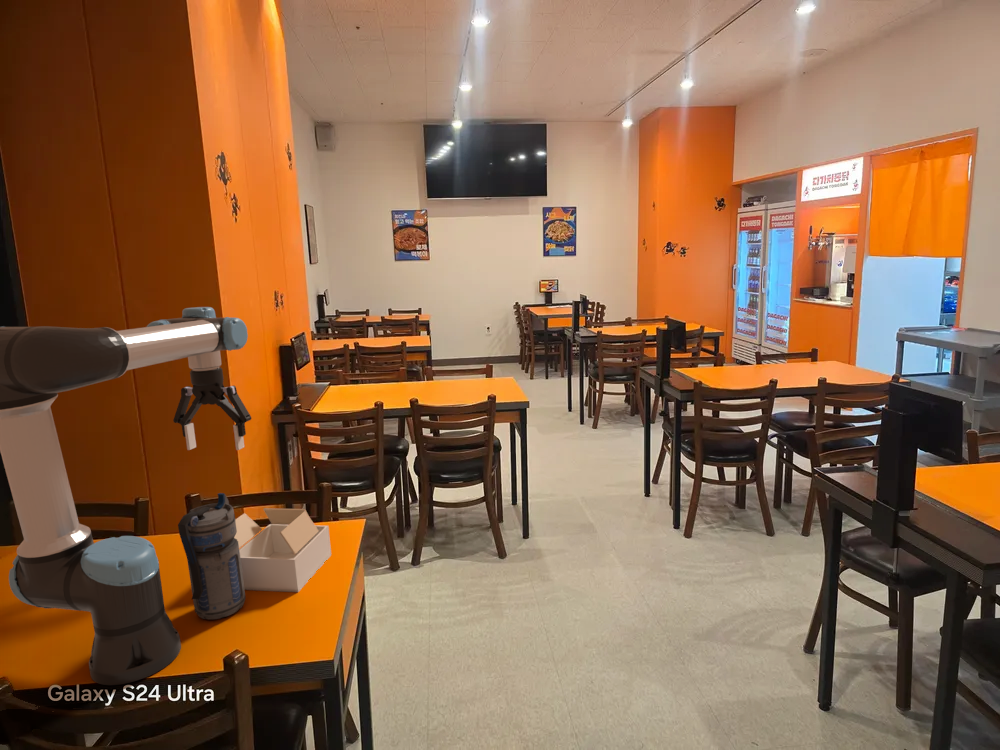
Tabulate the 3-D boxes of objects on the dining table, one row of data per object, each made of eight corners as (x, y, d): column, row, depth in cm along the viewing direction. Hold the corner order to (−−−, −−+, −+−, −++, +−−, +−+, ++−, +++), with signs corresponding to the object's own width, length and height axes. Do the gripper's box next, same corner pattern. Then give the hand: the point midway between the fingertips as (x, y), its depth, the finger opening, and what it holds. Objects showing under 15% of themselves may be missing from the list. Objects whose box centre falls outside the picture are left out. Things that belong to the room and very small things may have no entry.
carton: (298, 592, 141) (292, 539, 138) (217, 588, 144) (210, 536, 142) (331, 555, 158) (326, 507, 156) (259, 552, 162) (253, 505, 159)
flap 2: (294, 554, 141) (295, 553, 141) (279, 532, 140) (280, 532, 140) (317, 531, 152) (318, 530, 152) (304, 511, 152) (305, 510, 152)
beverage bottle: (176, 626, 129) (158, 513, 125) (220, 593, 142) (206, 490, 137) (216, 632, 127) (200, 517, 122) (258, 597, 139) (244, 492, 135)
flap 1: (304, 510, 153) (305, 509, 153) (263, 509, 155) (263, 508, 155) (312, 524, 157) (312, 523, 157) (271, 523, 158) (272, 522, 159)
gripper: (259, 364, 159) (268, 444, 163) (170, 366, 163) (181, 444, 166) (243, 369, 152) (253, 452, 156) (151, 371, 155) (162, 452, 159)
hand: (216, 448), depth 161 cm, fingers open, 13 cm apart
